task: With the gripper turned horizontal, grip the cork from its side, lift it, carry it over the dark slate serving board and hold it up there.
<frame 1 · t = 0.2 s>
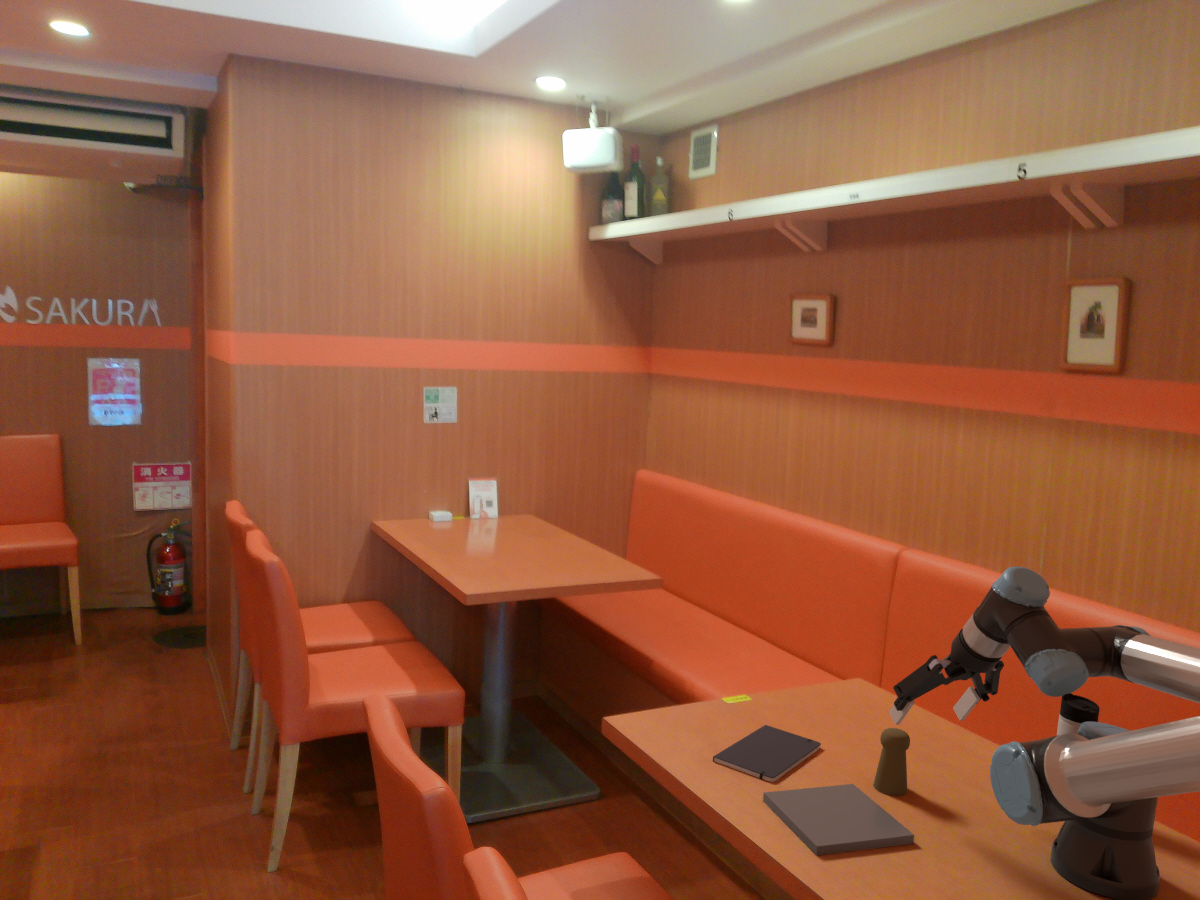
hand: (926, 716, 170), 15 cm above the table, tool tilted 35°, fingers open, 13 cm apart
travel mug: (1066, 806, 172), on the table
notebook: (768, 758, 185), on the table
slate board: (835, 821, 160), on the table
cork: (890, 789, 174), on the table
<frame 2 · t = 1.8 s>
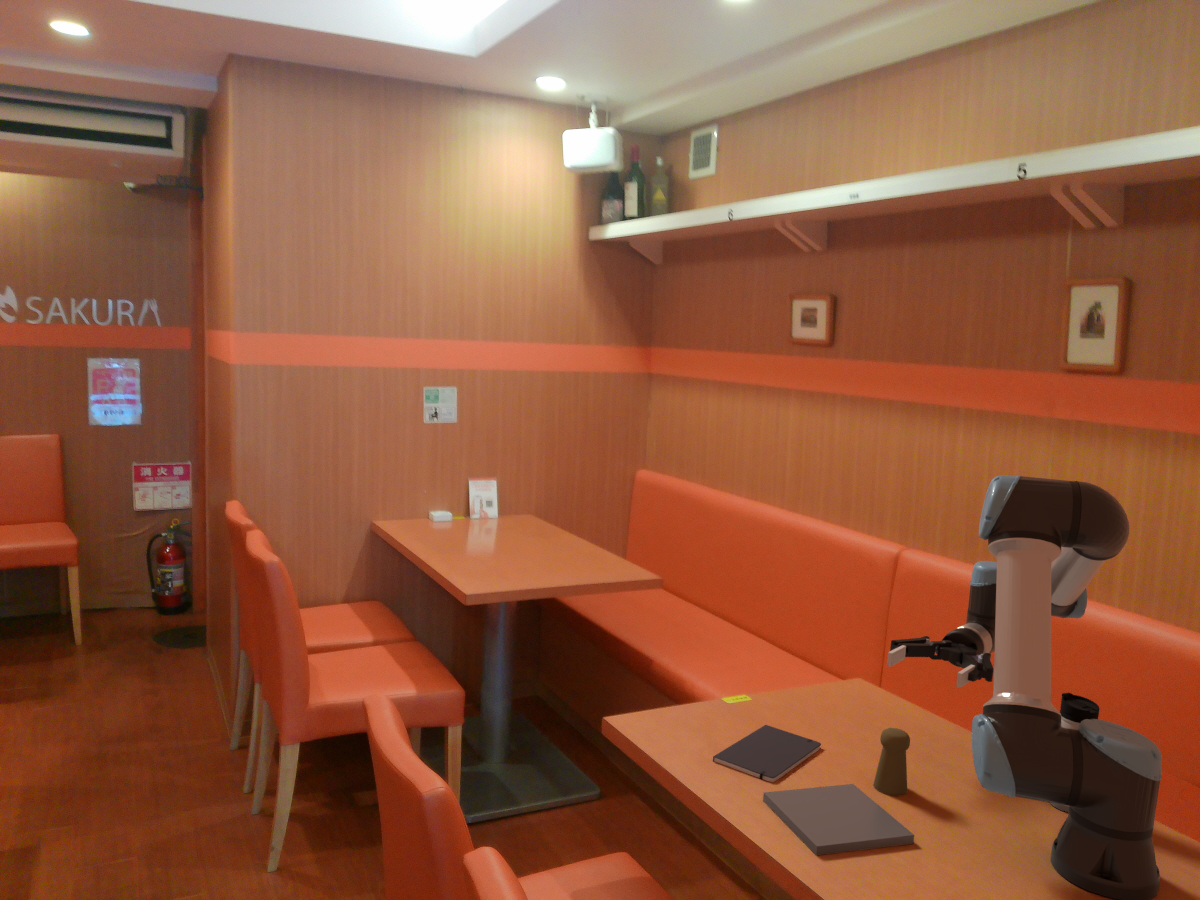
hand: (923, 669, 179), 20 cm above the table, tool horizontal, fingers open, 13 cm apart
nothing on the table moved.
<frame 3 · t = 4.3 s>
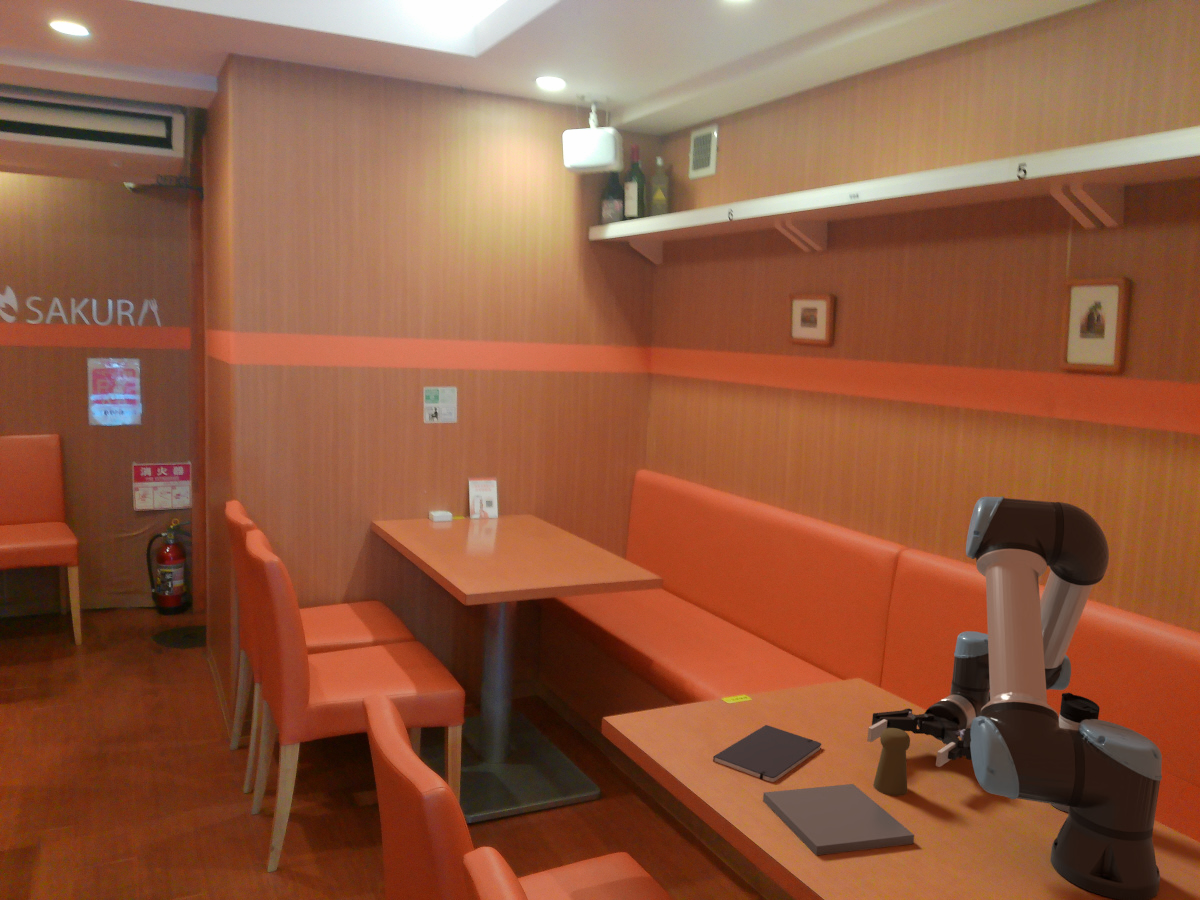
hand: (903, 746, 177), 6 cm above the table, tool horizontal, fingers open, 13 cm apart
nothing on the table moved.
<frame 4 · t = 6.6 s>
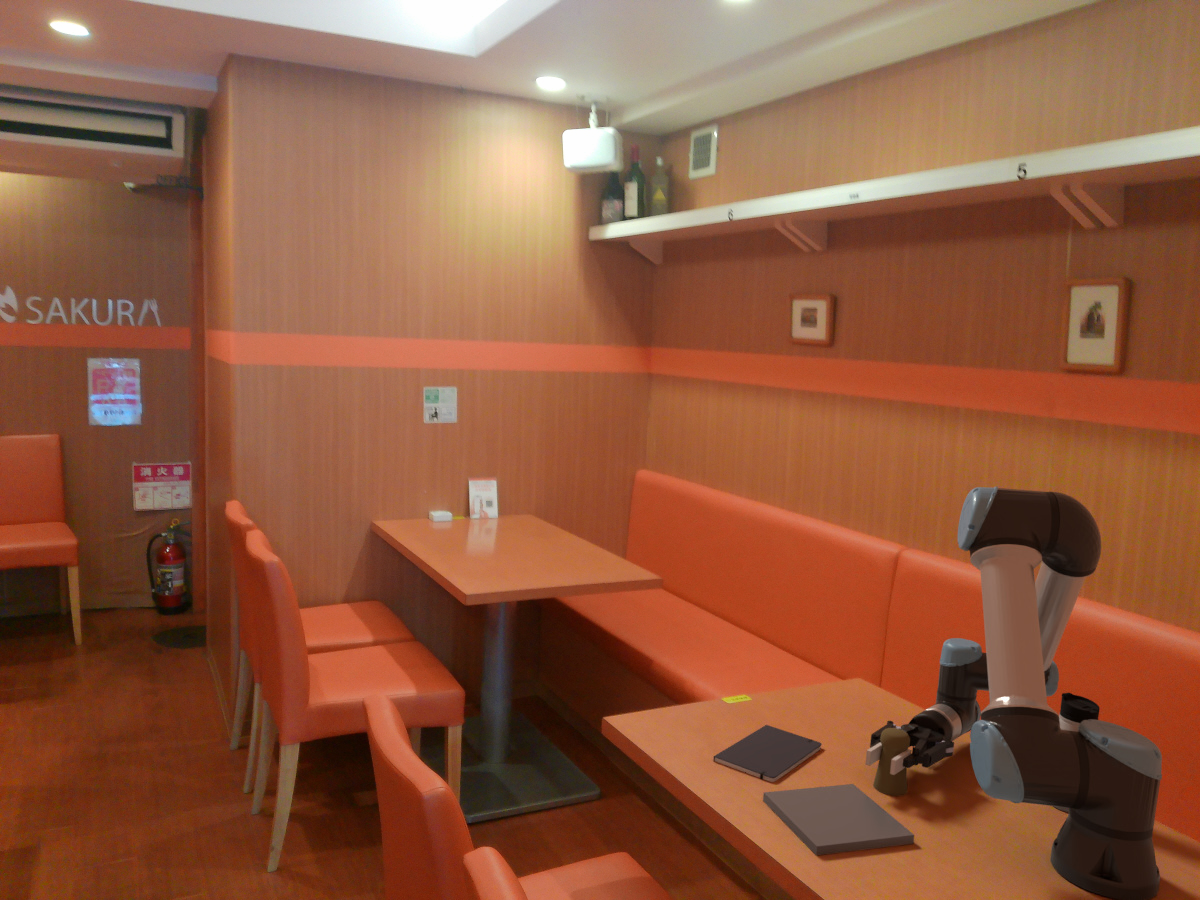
hand: (880, 762, 169), 7 cm above the table, tool horizontal, fingers closed on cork, 4 cm apart
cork: (890, 788, 174), on the table, touching gripper
everything else where it was.
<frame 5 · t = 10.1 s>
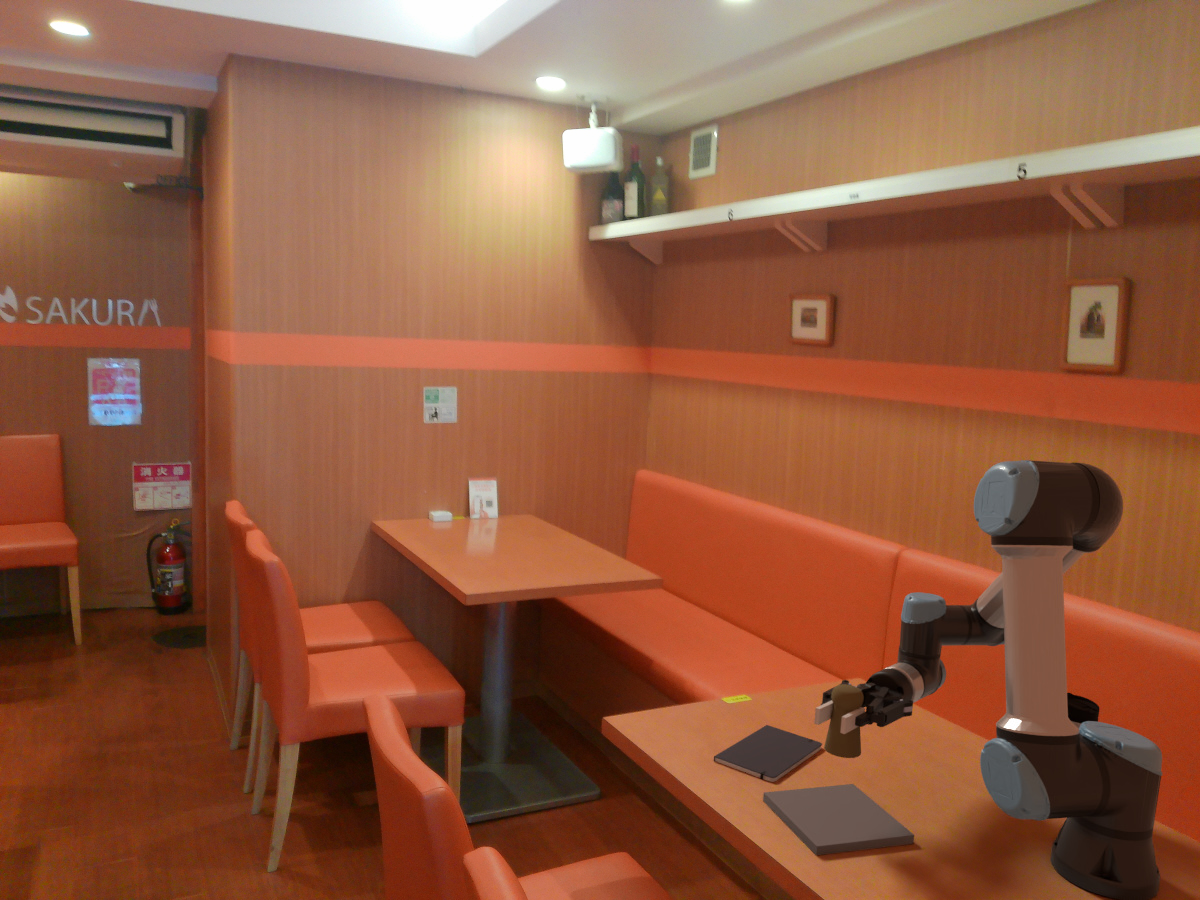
hand: (830, 720, 154), 19 cm above the table, tool horizontal, fingers closed on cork, 4 cm apart
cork: (842, 751, 159), point 12 cm above the table, touching gripper
everything else where it was.
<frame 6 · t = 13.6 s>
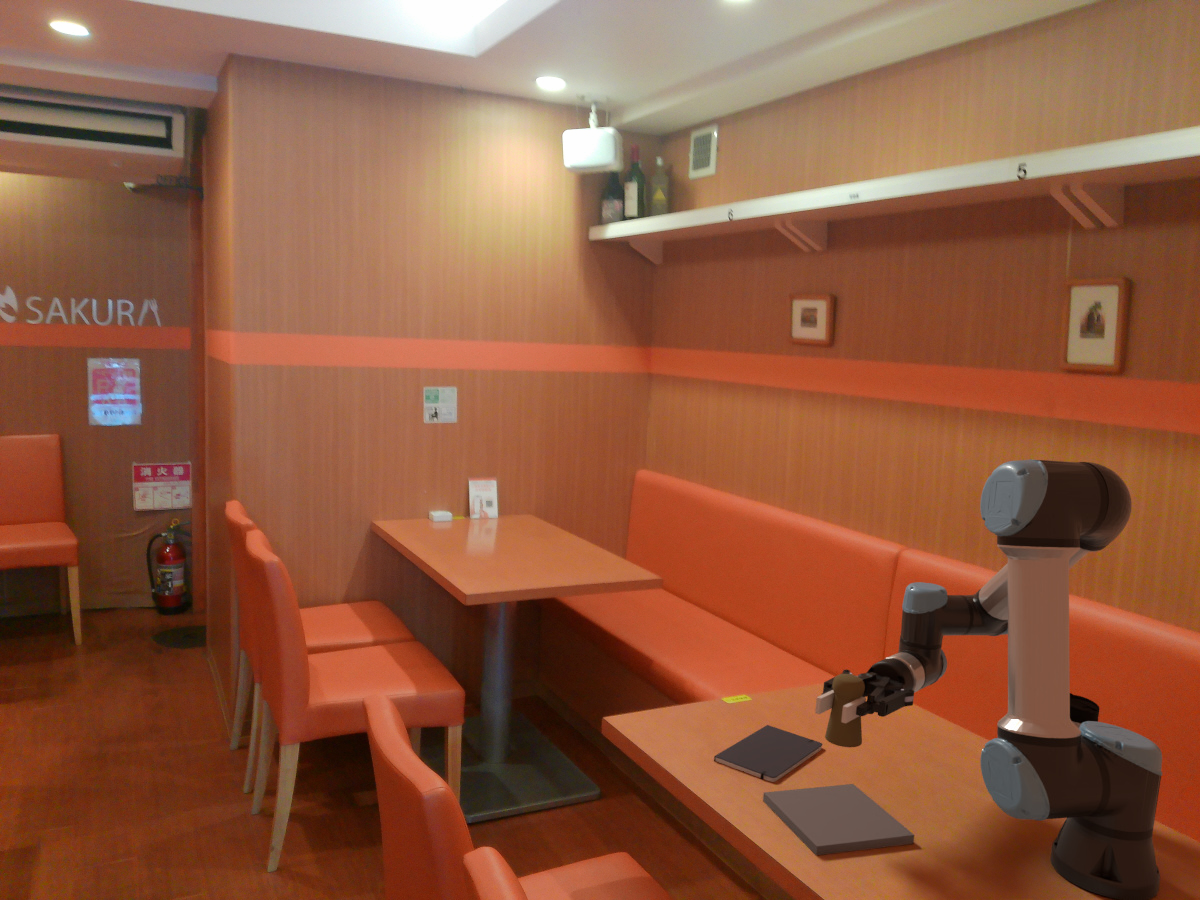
hand: (831, 710, 154), 21 cm above the table, tool horizontal, fingers closed on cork, 4 cm apart
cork: (843, 740, 159), point 14 cm above the table, touching gripper
everything else where it was.
at the end: the gripper is holding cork; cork inside the target area on the slate board (0.0 cm from its centre), point 14.2 cm above the slate board's base; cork tilted 0° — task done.
